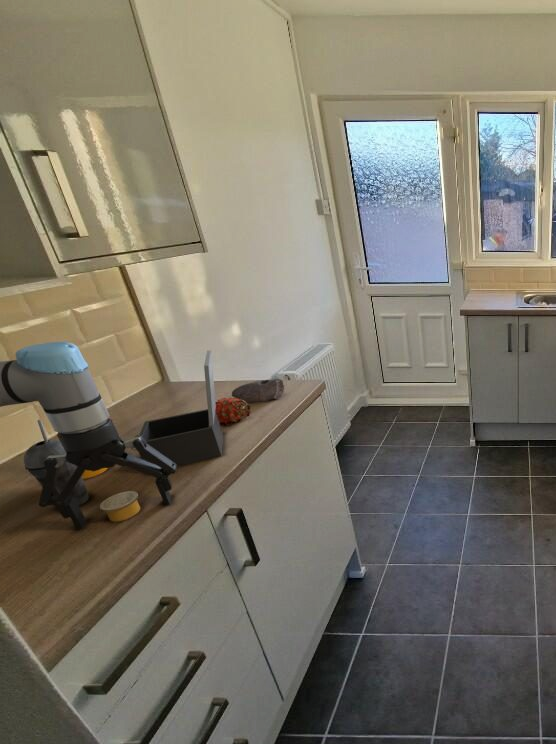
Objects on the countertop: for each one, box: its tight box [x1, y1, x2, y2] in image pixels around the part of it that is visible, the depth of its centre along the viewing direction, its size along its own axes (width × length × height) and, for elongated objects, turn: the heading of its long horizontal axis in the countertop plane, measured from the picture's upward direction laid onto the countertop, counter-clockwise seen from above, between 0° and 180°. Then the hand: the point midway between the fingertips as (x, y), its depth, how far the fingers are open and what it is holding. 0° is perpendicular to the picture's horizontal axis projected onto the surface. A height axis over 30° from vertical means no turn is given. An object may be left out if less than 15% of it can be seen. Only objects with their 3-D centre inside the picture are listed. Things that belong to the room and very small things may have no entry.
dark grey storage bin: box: [138, 408, 224, 468], centre depth 104 cm, size 15×13×9 cm
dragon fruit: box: [215, 396, 252, 426], centre depth 120 cm, size 8×8×12 cm
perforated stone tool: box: [231, 378, 285, 404], centre depth 133 cm, size 15×5×7 cm, turn 107°
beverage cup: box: [23, 419, 90, 507], centre depth 84 cm, size 7×7×20 cm
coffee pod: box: [99, 490, 141, 522], centre depth 84 cm, size 6×6×4 cm
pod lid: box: [203, 350, 216, 426], centre depth 103 cm, size 16×13×1 cm
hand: (127, 515), depth 85 cm, fingers open, 13 cm apart
